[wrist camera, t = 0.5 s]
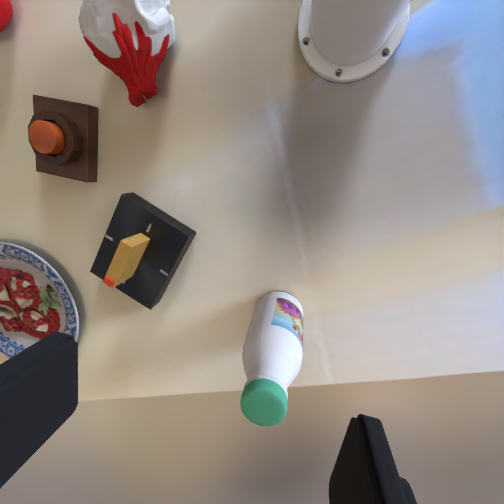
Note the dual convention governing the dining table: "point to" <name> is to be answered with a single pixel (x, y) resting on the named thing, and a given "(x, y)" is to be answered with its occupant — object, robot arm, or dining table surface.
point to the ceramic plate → (31, 300)
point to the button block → (69, 138)
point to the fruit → (5, 13)
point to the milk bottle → (271, 357)
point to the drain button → (47, 137)
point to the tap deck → (155, 255)
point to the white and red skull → (129, 40)
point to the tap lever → (126, 259)
